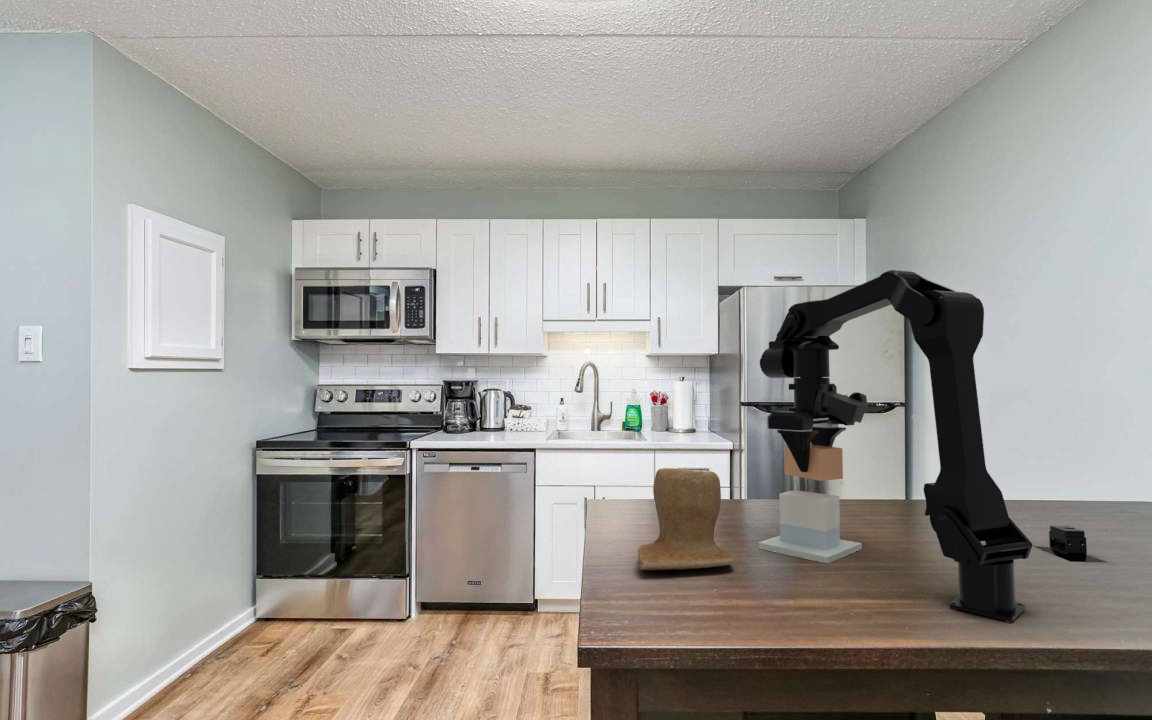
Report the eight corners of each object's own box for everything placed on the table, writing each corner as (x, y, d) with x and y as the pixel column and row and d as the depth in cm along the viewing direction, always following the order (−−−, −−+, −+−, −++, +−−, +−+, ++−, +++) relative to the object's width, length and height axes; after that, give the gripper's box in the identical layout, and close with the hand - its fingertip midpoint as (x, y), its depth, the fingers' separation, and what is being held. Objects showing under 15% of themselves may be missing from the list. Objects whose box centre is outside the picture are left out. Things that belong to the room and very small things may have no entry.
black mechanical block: (1122, 568, 91) (1120, 538, 92) (1070, 568, 92) (1068, 537, 92) (1064, 547, 104) (1063, 520, 104) (1019, 546, 105) (1017, 519, 105)
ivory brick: (825, 531, 97) (824, 500, 97) (779, 523, 103) (779, 493, 103) (839, 526, 101) (839, 496, 101) (794, 518, 106) (794, 490, 107)
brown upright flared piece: (713, 552, 100) (711, 461, 101) (743, 574, 88) (741, 471, 89) (623, 557, 98) (622, 463, 99) (642, 580, 86) (640, 474, 87)
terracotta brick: (819, 480, 98) (819, 449, 98) (784, 474, 105) (784, 445, 105) (842, 478, 100) (842, 448, 100) (806, 472, 107) (806, 443, 107)
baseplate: (827, 563, 93) (827, 537, 93) (758, 548, 102) (757, 524, 102) (861, 549, 101) (861, 525, 101) (794, 536, 110) (794, 514, 110)
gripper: (830, 377, 91) (833, 482, 90) (884, 377, 103) (886, 469, 102) (764, 377, 99) (766, 473, 99) (821, 377, 111) (823, 463, 111)
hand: (813, 470), depth 102 cm, fingers closed on terracotta brick, 6 cm apart
